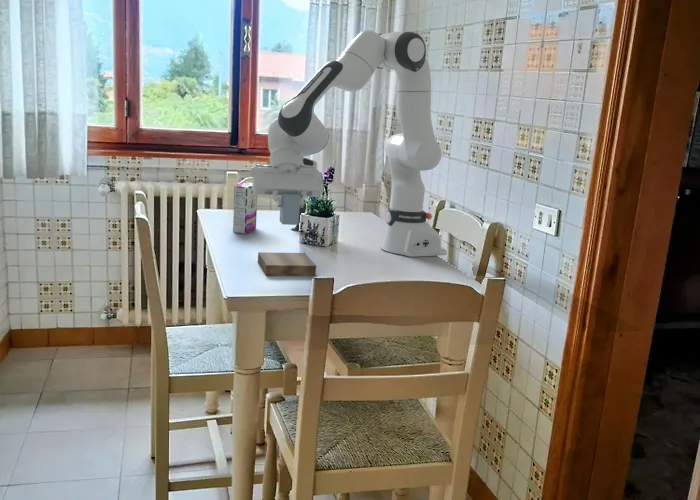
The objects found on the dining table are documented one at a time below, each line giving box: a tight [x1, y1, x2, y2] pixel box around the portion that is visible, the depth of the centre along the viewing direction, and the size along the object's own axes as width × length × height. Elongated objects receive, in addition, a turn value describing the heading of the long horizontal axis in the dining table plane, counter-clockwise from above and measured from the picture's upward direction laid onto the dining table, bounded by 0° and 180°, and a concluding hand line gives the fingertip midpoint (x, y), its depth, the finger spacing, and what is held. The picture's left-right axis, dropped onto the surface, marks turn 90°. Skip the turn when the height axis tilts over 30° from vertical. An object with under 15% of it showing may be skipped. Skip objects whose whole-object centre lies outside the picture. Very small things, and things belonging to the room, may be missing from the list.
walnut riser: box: [257, 251, 317, 277], centre depth 190 cm, size 14×14×3 cm
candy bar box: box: [232, 181, 258, 235], centre depth 233 cm, size 11×5×16 cm, turn 168°
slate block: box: [279, 193, 300, 226], centre depth 187 cm, size 4×4×8 cm
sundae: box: [290, 199, 308, 232], centre depth 242 cm, size 7×7×15 cm
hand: (290, 206), depth 186 cm, fingers closed on slate block, 4 cm apart
